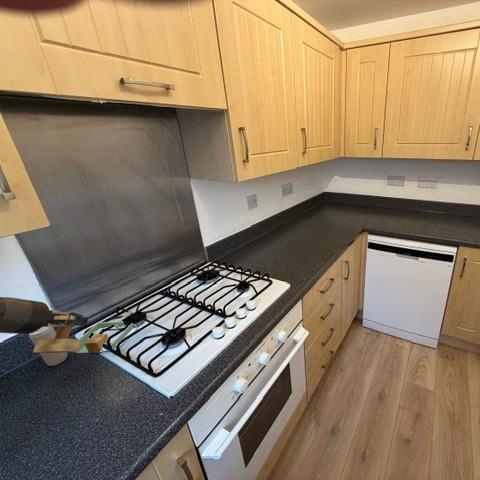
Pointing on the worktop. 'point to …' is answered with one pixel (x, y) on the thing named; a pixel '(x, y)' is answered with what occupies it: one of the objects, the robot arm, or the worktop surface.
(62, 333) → the wooden t-shaped piece
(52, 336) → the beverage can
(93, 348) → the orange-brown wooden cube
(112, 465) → the worktop surface
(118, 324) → the pale green curved piece
